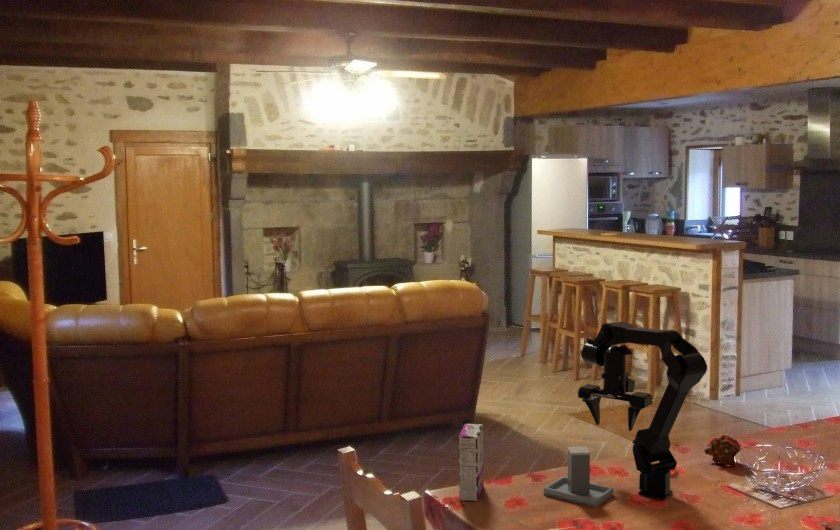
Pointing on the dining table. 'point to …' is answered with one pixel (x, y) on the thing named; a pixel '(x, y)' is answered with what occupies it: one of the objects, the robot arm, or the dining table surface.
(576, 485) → the grey tall block
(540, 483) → the dining table surface
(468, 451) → the candy bar box
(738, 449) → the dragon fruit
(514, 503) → the dining table surface
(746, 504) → the dining table surface
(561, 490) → the tray
